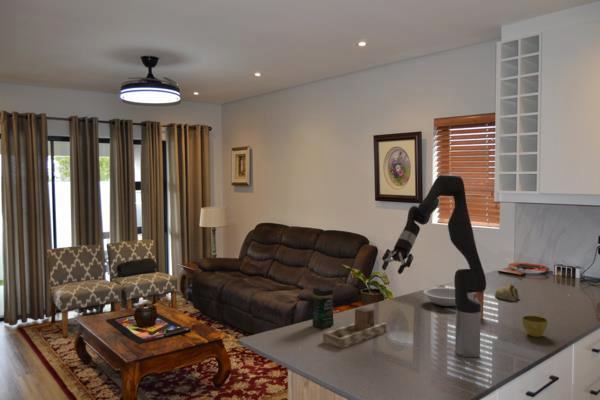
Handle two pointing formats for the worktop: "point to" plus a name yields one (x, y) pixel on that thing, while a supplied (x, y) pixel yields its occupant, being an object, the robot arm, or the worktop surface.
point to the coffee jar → (323, 306)
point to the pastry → (507, 293)
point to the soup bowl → (441, 296)
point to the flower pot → (534, 325)
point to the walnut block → (364, 318)
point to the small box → (477, 299)
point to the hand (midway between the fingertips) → (391, 271)
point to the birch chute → (351, 335)
